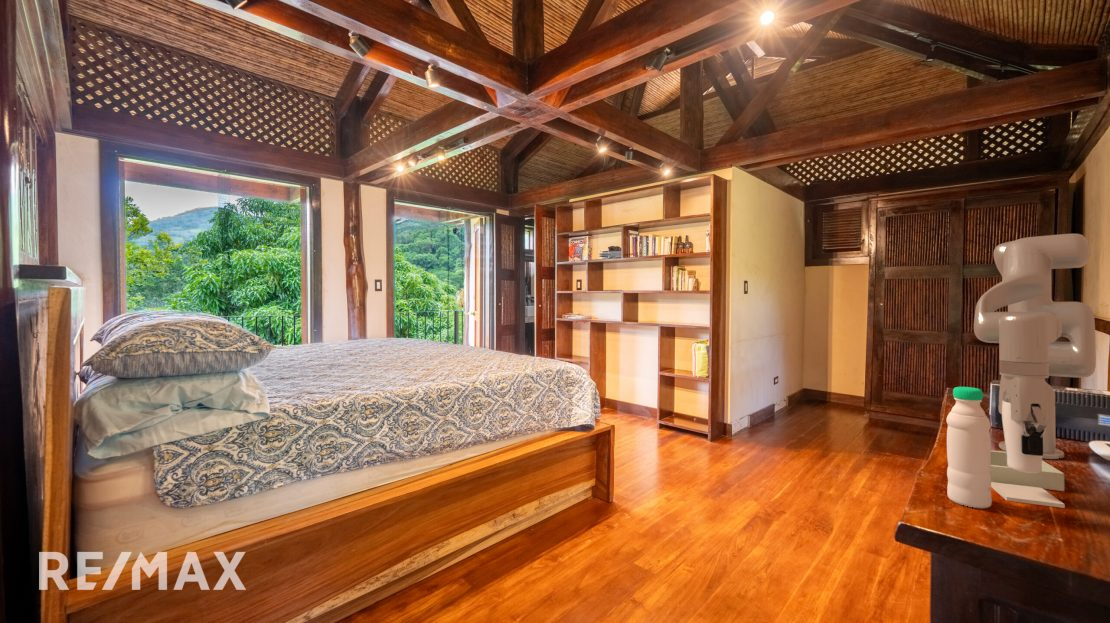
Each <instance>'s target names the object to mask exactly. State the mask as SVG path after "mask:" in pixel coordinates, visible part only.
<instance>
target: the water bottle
mask: <svg viewBox="0 0 1110 623" xmlns="http://www.w3.org/2000/svg"><path fill="white" fill-rule="evenodd" d="M952 395H953V399H954V400H955V404H954V406H952V408H951V410H950V411H949V413H948V414H947V417H946V424H947V430H946V456H947V458H946V460H947V465H948V466H947V469H946V476H947V487H946V490H947V491H946V492H947V497H948V498H949V500H951V501H952V502H953V503H956V504H957V505H961V506H963V505H964V507H967V506H968V508H972V507H973V508H974V509H987V508H990V507H991V506H992V503H993V502H992V490H991V488H992V487H991V475H990V465H991V450H992V447H991V446H992V445H991V442H992V441H991V435H990V430H991V427H992V426H991V422H990V421H991V420H990V419H989V417H988V416H987V415H986V412H985V410H984V409H983V407H981V403H982V402H983V399H984V393H983V391H982V389H980V388H978V387H977V388H976V387H972V386H971V387H970V386H956V387H954V388H953V390H952Z"/></svg>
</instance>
